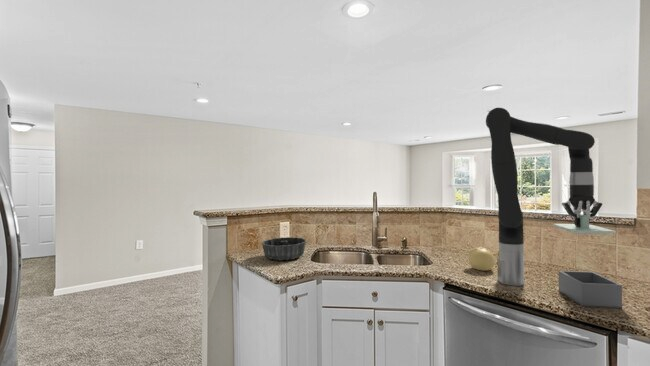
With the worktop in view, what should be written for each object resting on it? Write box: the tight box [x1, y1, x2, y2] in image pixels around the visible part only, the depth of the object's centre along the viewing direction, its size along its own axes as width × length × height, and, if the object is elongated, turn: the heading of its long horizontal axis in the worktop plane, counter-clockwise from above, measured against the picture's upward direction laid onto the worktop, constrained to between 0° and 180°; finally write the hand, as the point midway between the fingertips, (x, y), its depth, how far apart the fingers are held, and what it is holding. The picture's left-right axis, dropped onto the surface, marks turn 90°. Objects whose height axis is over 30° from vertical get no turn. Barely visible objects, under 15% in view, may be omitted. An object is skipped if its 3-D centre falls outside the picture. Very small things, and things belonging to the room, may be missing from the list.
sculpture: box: [467, 246, 496, 272], centre depth 160 cm, size 12×12×11 cm
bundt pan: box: [261, 236, 307, 261], centre depth 192 cm, size 26×26×10 cm
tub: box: [558, 270, 623, 309], centre depth 119 cm, size 12×16×8 cm
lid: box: [552, 213, 617, 235], centre depth 128 cm, size 13×17×7 cm
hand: (582, 226), depth 128 cm, fingers closed on lid
